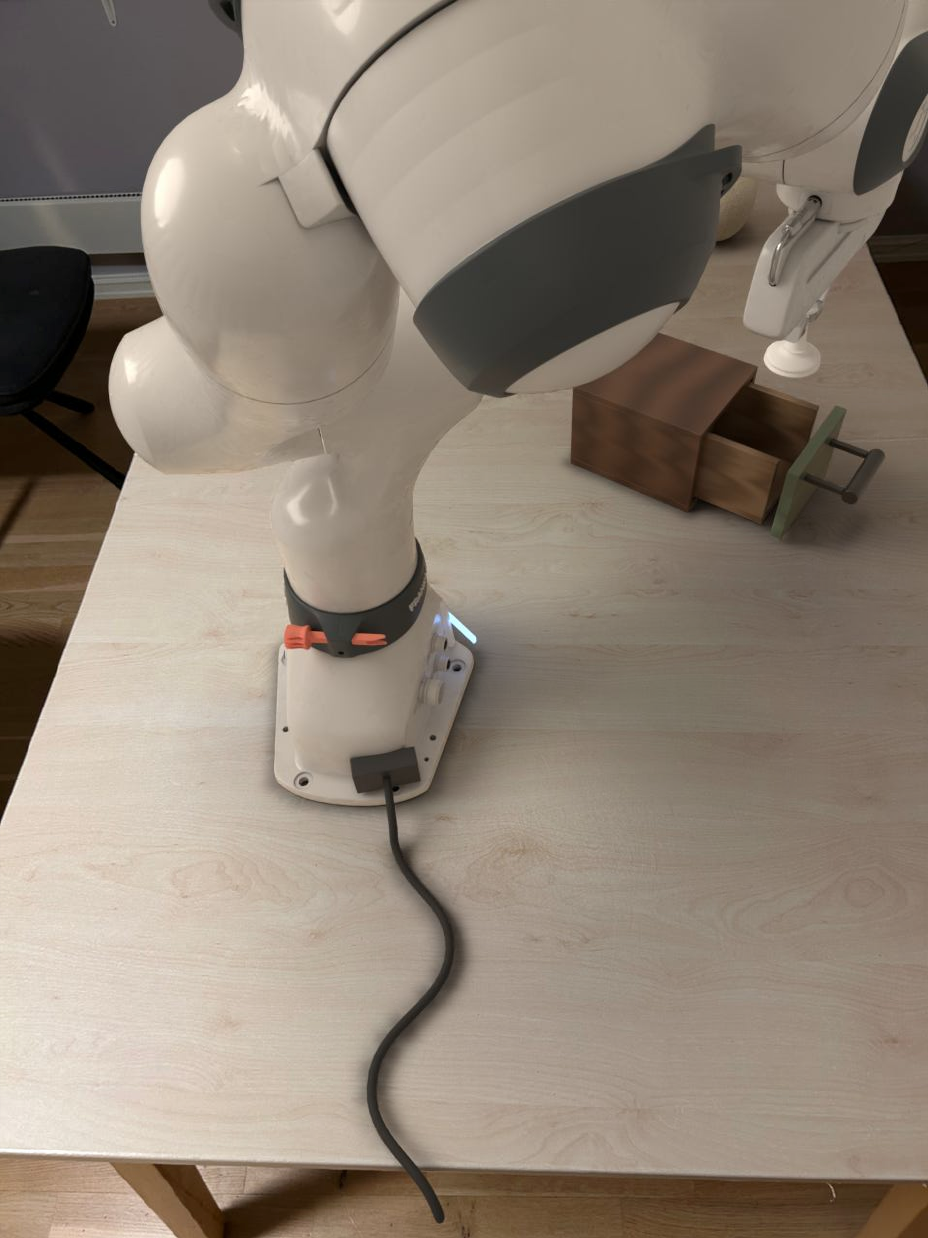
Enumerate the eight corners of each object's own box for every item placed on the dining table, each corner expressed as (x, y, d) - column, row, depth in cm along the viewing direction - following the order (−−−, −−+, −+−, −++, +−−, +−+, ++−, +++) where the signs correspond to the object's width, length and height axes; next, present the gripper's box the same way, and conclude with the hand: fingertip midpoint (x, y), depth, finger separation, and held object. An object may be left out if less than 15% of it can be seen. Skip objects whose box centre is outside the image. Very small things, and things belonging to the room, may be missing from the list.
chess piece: (780, 338, 87) (804, 237, 79) (829, 356, 85) (859, 255, 77) (753, 364, 85) (775, 264, 77) (803, 385, 83) (830, 283, 75)
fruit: (652, 229, 133) (663, 120, 121) (723, 209, 135) (741, 100, 123) (688, 265, 127) (703, 154, 115) (762, 244, 129) (785, 133, 117)
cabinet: (741, 444, 105) (758, 366, 96) (687, 512, 99) (701, 435, 90) (626, 400, 110) (633, 323, 102) (570, 462, 105) (572, 386, 96)
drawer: (875, 492, 97) (900, 427, 90) (831, 561, 92) (854, 497, 85) (710, 430, 105) (722, 365, 98) (661, 490, 100) (670, 426, 93)
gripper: (823, 246, 65) (782, 404, 76) (928, 125, 75) (878, 281, 85) (739, 222, 68) (711, 378, 78) (851, 108, 77) (813, 261, 88)
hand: (799, 326), depth 82 cm, fingers closed on chess piece
